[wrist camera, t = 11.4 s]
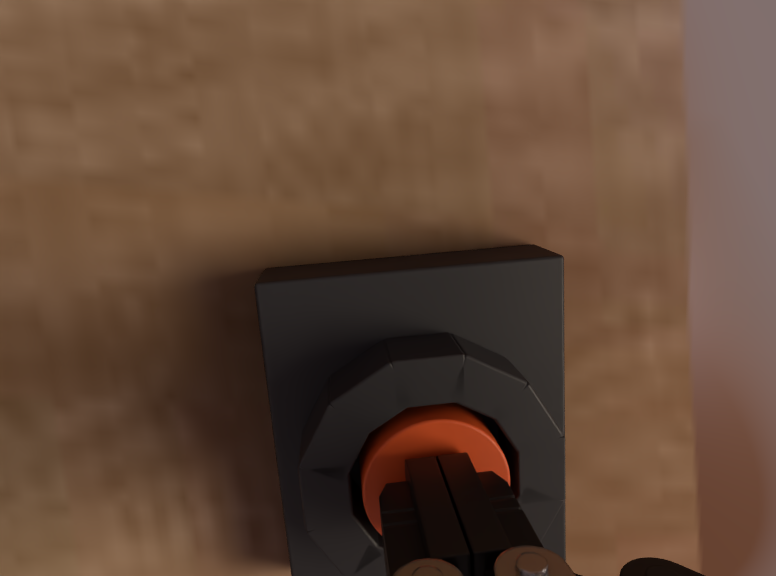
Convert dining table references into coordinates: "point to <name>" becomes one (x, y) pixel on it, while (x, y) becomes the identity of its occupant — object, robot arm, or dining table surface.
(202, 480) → the dining table surface
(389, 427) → the release button
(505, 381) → the button housing
